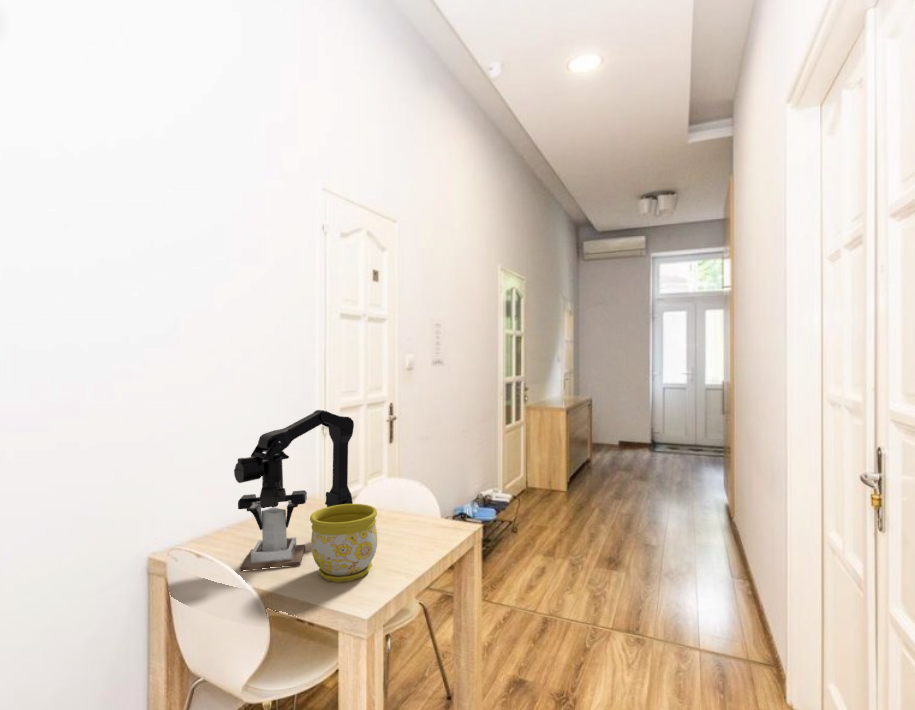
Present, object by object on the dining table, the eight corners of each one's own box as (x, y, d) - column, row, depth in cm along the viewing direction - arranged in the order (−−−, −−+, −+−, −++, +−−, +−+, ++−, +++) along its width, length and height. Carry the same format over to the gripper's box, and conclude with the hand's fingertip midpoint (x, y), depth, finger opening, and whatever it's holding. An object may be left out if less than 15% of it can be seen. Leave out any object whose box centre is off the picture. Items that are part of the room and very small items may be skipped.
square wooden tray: (305, 548, 159) (305, 544, 159) (300, 565, 145) (299, 561, 145) (251, 553, 156) (251, 549, 156) (240, 571, 142) (240, 567, 142)
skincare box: (287, 549, 151) (286, 509, 151) (276, 554, 147) (274, 513, 147) (273, 546, 154) (272, 506, 154) (262, 551, 150) (260, 510, 150)
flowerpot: (348, 592, 128) (347, 527, 128) (297, 579, 136) (295, 518, 136) (391, 565, 143) (390, 507, 143) (343, 555, 152) (341, 500, 152)
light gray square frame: (296, 546, 157) (296, 537, 157) (291, 560, 146) (291, 550, 146) (258, 550, 155) (258, 540, 155) (251, 564, 144) (250, 553, 144)
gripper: (232, 485, 141) (234, 541, 141) (302, 479, 145) (303, 534, 145) (241, 476, 152) (243, 528, 152) (306, 471, 156) (307, 522, 156)
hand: (274, 528), depth 151 cm, fingers closed on skincare box, 7 cm apart
